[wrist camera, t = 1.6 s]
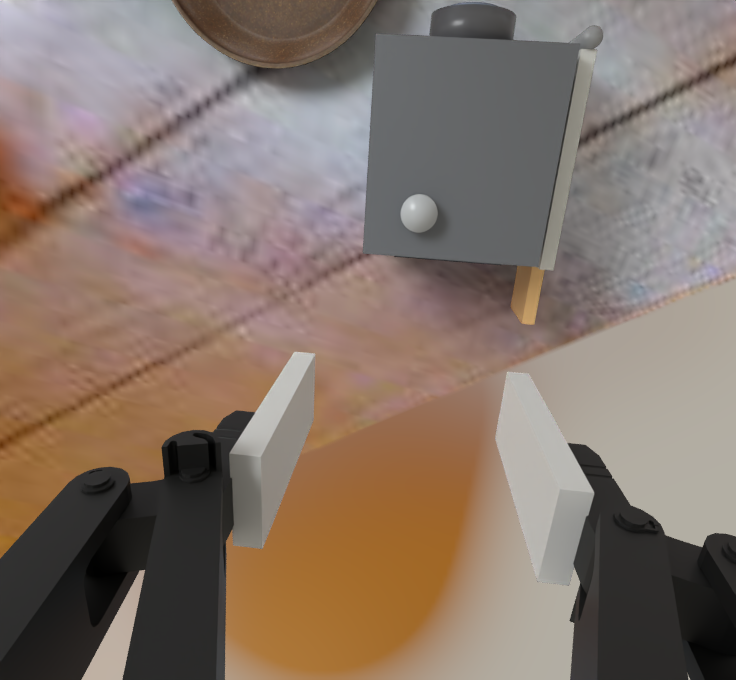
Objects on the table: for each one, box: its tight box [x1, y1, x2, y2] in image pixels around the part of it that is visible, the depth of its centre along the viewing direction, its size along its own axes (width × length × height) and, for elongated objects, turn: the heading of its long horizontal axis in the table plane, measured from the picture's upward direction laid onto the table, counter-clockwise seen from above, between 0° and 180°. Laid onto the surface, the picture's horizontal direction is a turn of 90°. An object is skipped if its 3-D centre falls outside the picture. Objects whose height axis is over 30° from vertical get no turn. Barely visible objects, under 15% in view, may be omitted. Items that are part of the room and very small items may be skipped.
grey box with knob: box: [363, 2, 580, 267], centre depth 29 cm, size 13×10×9 cm
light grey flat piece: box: [511, 25, 603, 325], centre depth 30 cm, size 16×1×7 cm, turn 176°
